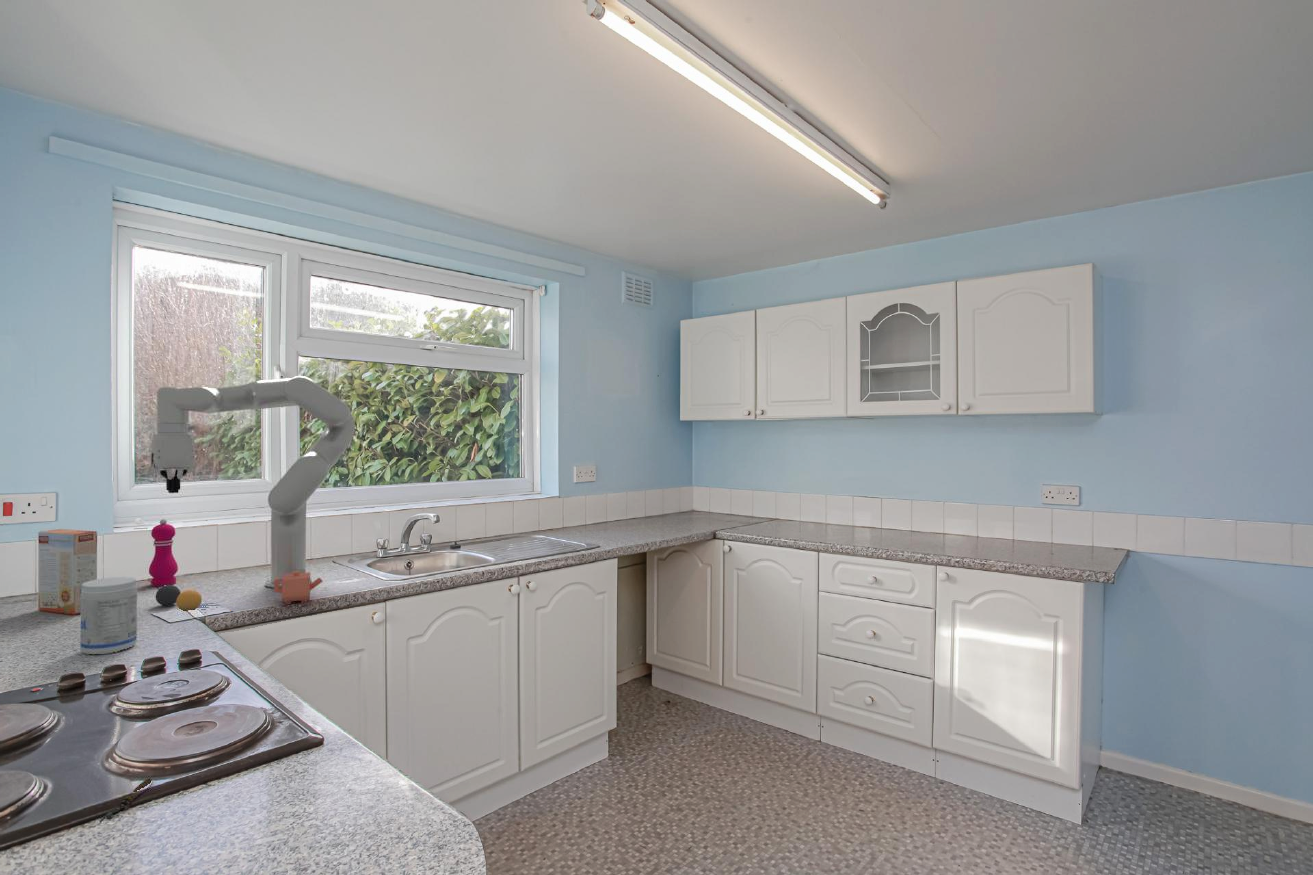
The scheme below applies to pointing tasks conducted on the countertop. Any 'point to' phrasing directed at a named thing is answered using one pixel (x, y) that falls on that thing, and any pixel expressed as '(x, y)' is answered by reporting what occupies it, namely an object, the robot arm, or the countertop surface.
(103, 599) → the supplement tub
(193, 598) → the orange ball
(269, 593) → the countertop surface
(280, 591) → the pink cube teapot
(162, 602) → the dark grey ball
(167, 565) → the pepper mill
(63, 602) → the cracker box
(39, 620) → the countertop surface
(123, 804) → the can opener
